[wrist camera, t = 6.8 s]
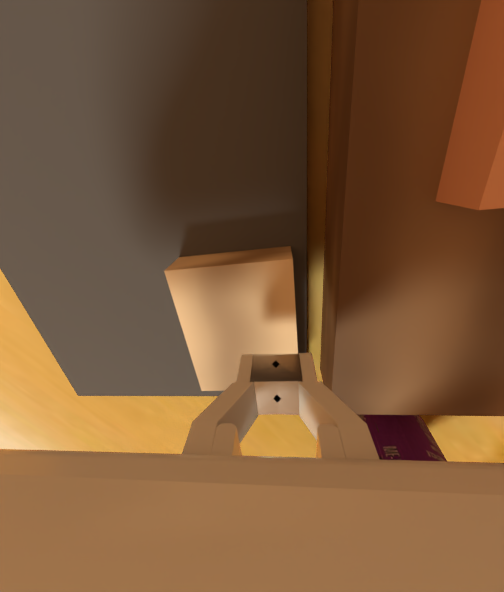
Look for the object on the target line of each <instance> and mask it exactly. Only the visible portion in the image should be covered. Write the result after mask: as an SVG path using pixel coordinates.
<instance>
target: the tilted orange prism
mask: <svg viewBox="0 0 504 592" xmlns="http://www.w3.org/2000/svg"><path fill="white" fill-rule="evenodd" d="M436 202H441V203H446V204H451V205H456V206H461V207H465V208H470V209H475V210H486V209H498V208H504V0H481V4H480V8H479V13H478V17H477V21H476V26H475V30H474V35H473V39H472V43H471V48H470V52H469V56H468V61H467V65H466V70H465V74H464V78H463V83H462V87H461V91H460V96H459V100H458V105H457V109H456V113H455V118H454V122H453V127H452V131H451V135H450V140H449V144H448V148H447V153H446V157H445V162H444V166H443V170H442V175H441V179H440V183H439V188H438V192H437V197H436Z"/></svg>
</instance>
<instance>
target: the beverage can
mask: <svg viewBox="0 0 504 592" xmlns="http://www.w3.org/2000/svg"><path fill="white" fill-rule="evenodd" d="M356 415H358V416H359V417H360V418H361V419H362V420H363V421H364V422H365V423H366V424H367V426H368V429H369V432H370V434H371V437H372V440H373V443H374V445H375V448H376V451H377V454H378V456H379V459H380V460H411V461H446V462H447V460H446V459H445V457H444V455H443V454H442V452H441V450H440V448H439V447H438V445H437V443H436V441H435V440H434V438H433V436H432V435H431V433H430V431H429V429H428V428H427V426H426V424H425V423H424V421H423V419H422V418H421V417H420V416H419V415H367V414H356Z"/></svg>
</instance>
